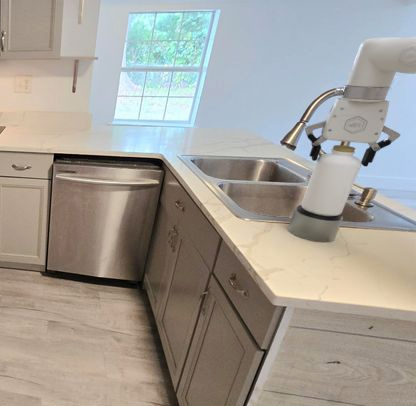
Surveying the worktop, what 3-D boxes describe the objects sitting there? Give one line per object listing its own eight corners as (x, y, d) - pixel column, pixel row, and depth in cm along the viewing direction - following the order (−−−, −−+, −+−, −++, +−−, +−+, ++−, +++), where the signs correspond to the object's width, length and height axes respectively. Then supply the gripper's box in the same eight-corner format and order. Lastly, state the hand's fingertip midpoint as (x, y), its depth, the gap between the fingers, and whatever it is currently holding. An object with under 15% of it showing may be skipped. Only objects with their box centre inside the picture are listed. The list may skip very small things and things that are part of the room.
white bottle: (341, 210, 99) (368, 146, 92) (339, 220, 94) (366, 153, 87) (302, 202, 105) (324, 141, 98) (297, 211, 100) (320, 147, 93)
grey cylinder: (339, 235, 101) (349, 212, 98) (327, 246, 96) (337, 222, 93) (295, 222, 109) (302, 201, 106) (282, 232, 104) (289, 209, 101)
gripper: (318, 93, 89) (296, 161, 96) (422, 97, 80) (389, 171, 87) (314, 90, 95) (294, 154, 102) (411, 93, 85) (381, 163, 92)
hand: (338, 162), depth 94 cm, fingers open, 9 cm apart
